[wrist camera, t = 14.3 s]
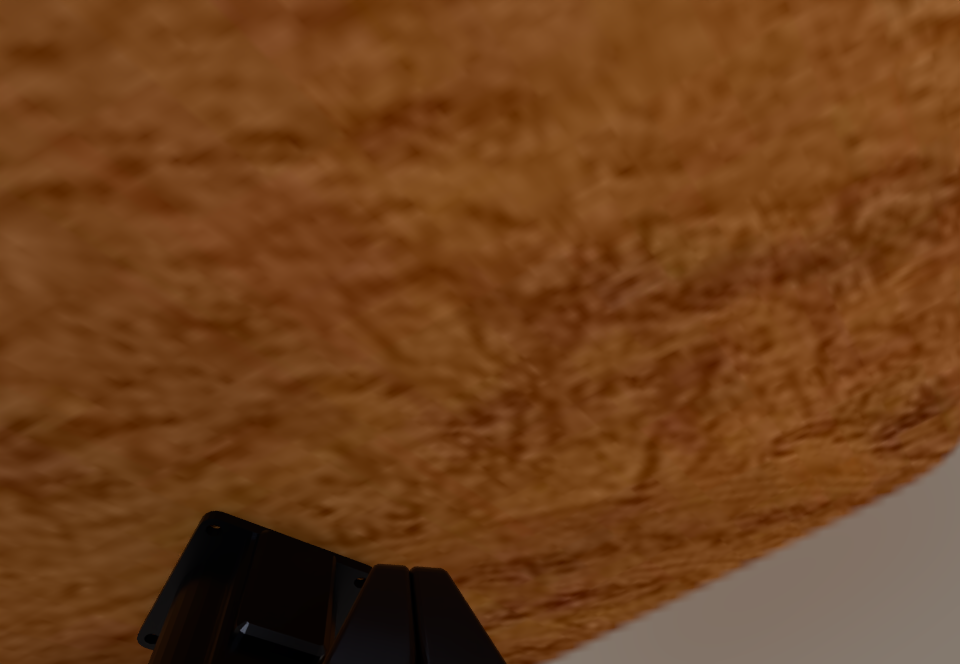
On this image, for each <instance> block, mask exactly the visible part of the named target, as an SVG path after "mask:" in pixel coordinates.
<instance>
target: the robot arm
mask: <svg viewBox="0 0 960 664" xmlns="http://www.w3.org/2000/svg"><path fill="white" fill-rule="evenodd" d="M210 525H218V526H219V527H220V528H218V529H217V528H213V527H211V526H210ZM360 577H361V578H365V579H364V580H358V579H357V578H360ZM153 634H155V635H153ZM137 640H138V643H139V644H140V645H141V646H143V647H145V648H148V649H151V650H153V653H152V655H151V658H150V660H149V663H148V664H506V662H505V661H504V659H503V657H502V656H501V654H500V653H499V651H498V650H497V648H496V647H495V645H494V644H493V642H492V640H491V639H490V637H489V636H488V634H487V633H486V631H485V630H484V628H483V626H482V625H481V623H480V622H479V620H478V619H477V617H476V616H475V614H474V613H473V611H472V609H471V608H470V606H469V605H468V603H467V602H466V600H465V599H464V597H463V595H462V594H461V592H460V591H459V589H458V588H457V586H456V585H455V583H454V582H453V580H452V578H451V577H450V575H449V574H448V572H447V571H445V570H444V569H442V568H431V567H413V568H412V569H411V570H410V571H409V569H408V568H407V567H406V566H403V565H389V564H377V565H375V566H374V567H373V568H372V567H370V566H369V565H366V564H363V563H361V562H358V561H355V560H353V559H350V558H347V557H344V556H342V555H339V554H336V553H333V552H331V551H328V550H325V549H322V548H320V547H317V546H314V545H312V544H309V543H306V542H303V541H301V540H298V539H295V538H292V537H290V536H287V535H284V534H281V533H279V532H276V531H273V530H270V529H268V528H265V527H262V526H260V525H257V524H254V523H251V522H249V521H246V520H243V519H240V518H238V517H235V516H232V515H229V514H227V513H224V512H220V511H211V512H208V513H206V514H205V515H204V516H203V517H202V519H201V521H200V523H199V524H198V526H197V528H196V530H195V532H194V533H193V535H192V537H191V539H190V540H189V542H188V544H187V546H186V548H185V549H184V551H183V553H182V555H181V557H180V558H179V560H178V562H177V564H176V566H175V567H174V569H173V571H172V573H171V574H170V576H169V578H168V580H167V582H166V583H165V585H164V587H163V589H162V591H161V592H160V594H159V596H158V598H157V600H156V601H155V603H154V605H153V607H152V608H151V610H150V612H149V614H148V616H147V617H146V619H145V621H144V623H143V625H142V627H141V629H140V631H139V634H138V637H137Z"/></svg>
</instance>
